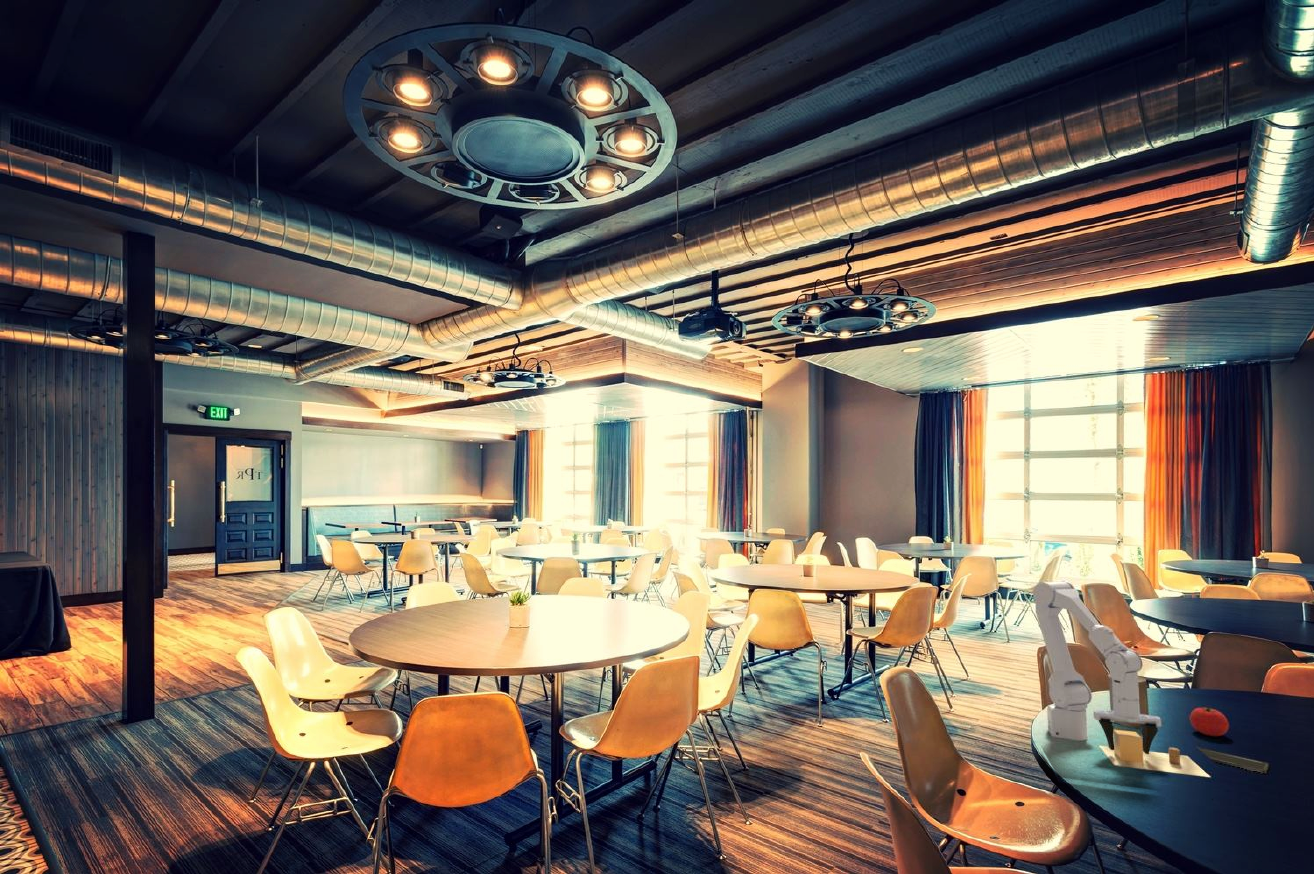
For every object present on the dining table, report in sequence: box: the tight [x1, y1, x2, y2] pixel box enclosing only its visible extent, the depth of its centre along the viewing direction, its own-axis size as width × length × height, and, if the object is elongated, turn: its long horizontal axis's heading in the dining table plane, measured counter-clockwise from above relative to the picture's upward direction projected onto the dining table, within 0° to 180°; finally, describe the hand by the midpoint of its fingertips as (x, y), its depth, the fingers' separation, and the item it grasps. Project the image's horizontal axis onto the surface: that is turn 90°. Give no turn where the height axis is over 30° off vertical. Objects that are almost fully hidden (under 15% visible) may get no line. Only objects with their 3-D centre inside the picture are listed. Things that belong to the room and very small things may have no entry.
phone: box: [1196, 746, 1269, 774], centre depth 173 cm, size 8×1×15 cm
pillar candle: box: [1107, 673, 1150, 729], centre depth 202 cm, size 10×10×15 cm
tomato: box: [1189, 706, 1230, 737], centre depth 193 cm, size 9×9×8 cm
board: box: [1098, 745, 1211, 778], centre depth 171 cm, size 20×14×4 cm
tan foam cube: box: [1113, 729, 1143, 763], centre depth 173 cm, size 5×5×6 cm
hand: (1128, 750), depth 173 cm, fingers open, 7 cm apart
